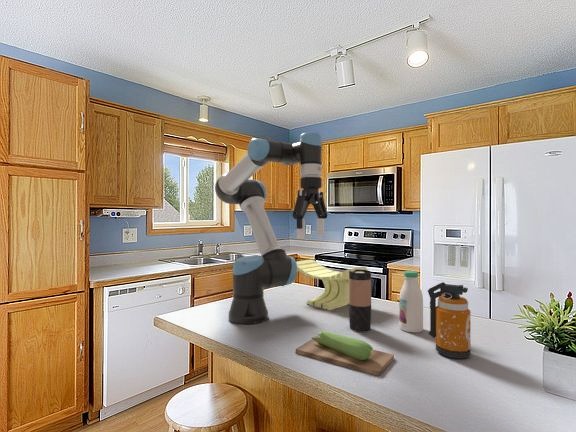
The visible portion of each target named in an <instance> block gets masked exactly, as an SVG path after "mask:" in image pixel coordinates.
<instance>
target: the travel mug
mask: <svg viewBox="0 0 576 432" xmlns="http://www.w3.org/2000/svg"><path fill="white" fill-rule="evenodd" d="M348 319H349V321H348V322H349V329H350V330H352V331H354V332H359V333H367V332H369V331H371V328H372V327H371V325H372V324H371V323H372V321H371V320H372V272H371V270H368V269H367V270H355V271H349V303H348Z"/></svg>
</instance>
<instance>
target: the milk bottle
mask: <svg viewBox="0 0 576 432" xmlns="http://www.w3.org/2000/svg"><path fill="white" fill-rule="evenodd" d="M403 276H404V277H403V278H404V281H403V284H402V287H401V288H400V292H399V303H398V304H399V312H398V314H399V315H398V317H399V319H398V321H399V328H400V329H401V331H403V332H406V333H407V332H408V333H422V332H423V331H424V296H423V292H422V290H421V287H420V285H419V281H418V279H419V272H418V271H415V270H405V271H404V272H403Z"/></svg>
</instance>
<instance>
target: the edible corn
mask: <svg viewBox="0 0 576 432" xmlns="http://www.w3.org/2000/svg"><path fill="white" fill-rule="evenodd" d="M317 331H318V332H319V334H318V337H321V338H315V337H316V336H314V337H311V339H313V340H314V341H316V342H317V343H319V344H322V345H325V346H327V347H330V348H332V349H334V350H336V351H339V352H341V353H343V354H346V355H348V356H350V357H353V358H355V359H358V360H365V359H367V358H369V357H370V355H373V350H374V349H373V346H372V345H371V344H370V343H368V342H366V341H363V340H361V339H359V338H353V337H350V336H346V335H341V334H337V333H334V332H330V331H326V330H322V329H317Z"/></svg>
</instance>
